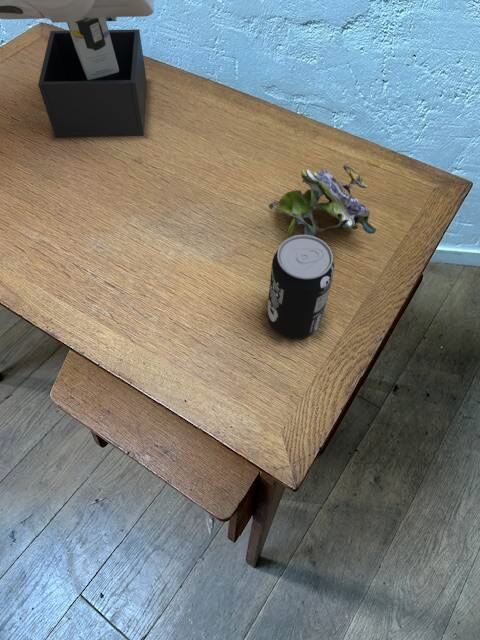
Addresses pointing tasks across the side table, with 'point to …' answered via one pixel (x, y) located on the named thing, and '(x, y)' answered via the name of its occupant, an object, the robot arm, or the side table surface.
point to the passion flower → (337, 206)
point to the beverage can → (299, 286)
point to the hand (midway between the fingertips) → (84, 15)
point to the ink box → (93, 46)
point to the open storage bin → (94, 89)
